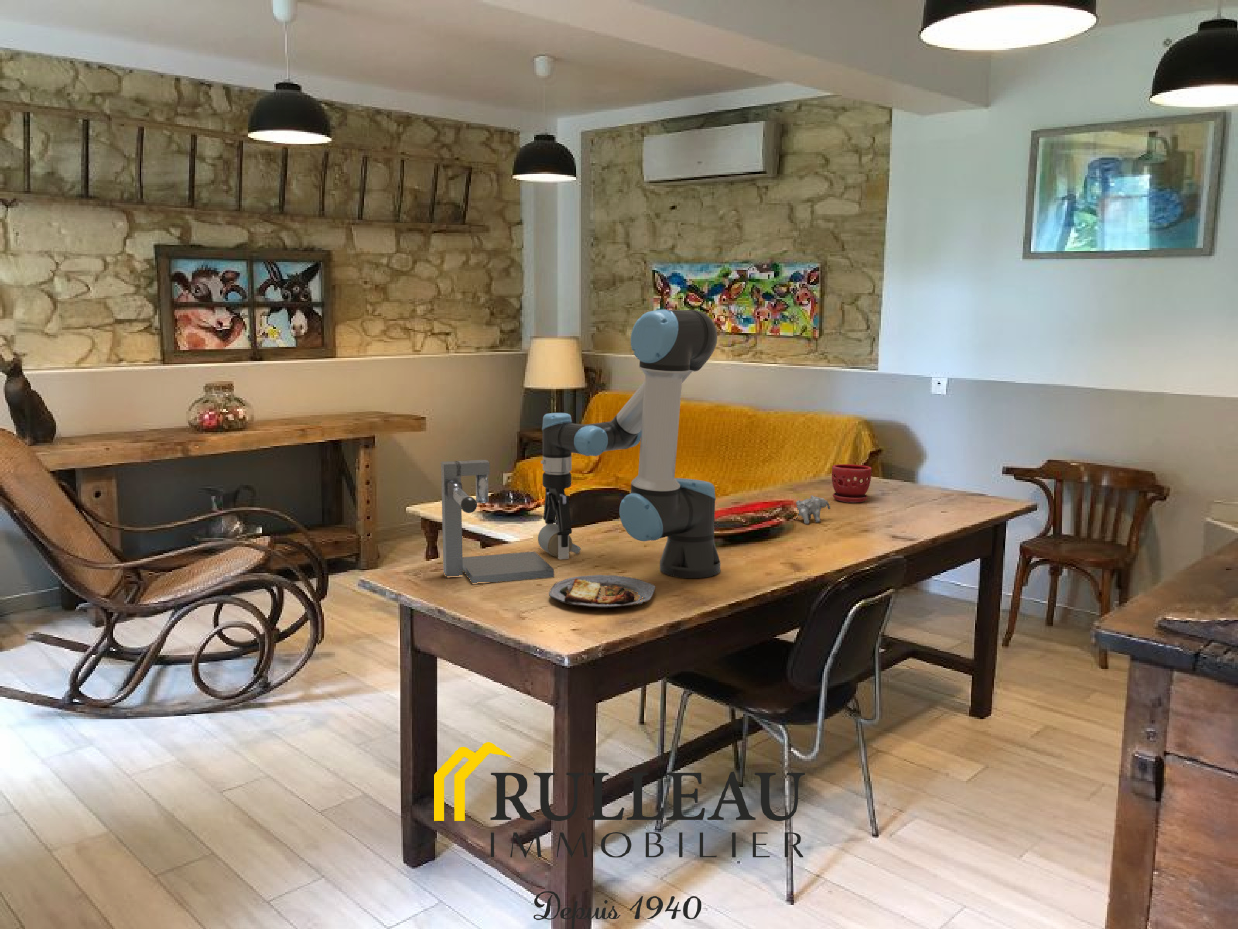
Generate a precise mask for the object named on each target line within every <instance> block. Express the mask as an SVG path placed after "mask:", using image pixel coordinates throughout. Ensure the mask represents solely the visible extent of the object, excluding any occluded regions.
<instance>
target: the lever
mask: <svg viewBox="0 0 1238 929" xmlns="http://www.w3.org/2000/svg"><path fill="white" fill-rule="evenodd" d="M447 496H448V499H449V500H451V499H455V500H456V501H457V502H458V504H459V505H460V506H461V509H462V511H463V513H466V514H472V513H474V512H475V511H476V510H477V508H478V503H477V502H476V498H474V497H472V496H470V495H468V494H467V493H466V492H465V491H464V489H463V484H462V481H461V482H452V483H447Z"/></svg>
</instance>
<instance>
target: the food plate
mask: <svg viewBox="0 0 1238 929" xmlns="http://www.w3.org/2000/svg"><path fill="white" fill-rule="evenodd" d="M604 586H607V587H605V589H604V591H605V595H603V594H602V593H601V592H602V591H601V589H602V588H601V587H604ZM656 588H657V587H656V586H655V585H654V584H653V583H650V582H647V581H643V580H641V579H639V578H636V577H629V576H624V575H616V574H615V575H614V574H613V575H611V574H610V575H609V574H607V575H604V574H594V575H581V576H580V575H579V576H574V577H568V578H565V579H562V580H561V581H556V582H555V583H554V584H553V585H552V587H551V589H550V590H549V592H548V596H549V597H550V598H551V599H553V600H556V601H558V602H559V603H562V604H566V605H570V606H581V607H582V606H583V607H589V608H590V607H593V608H598V609H601V608H603V609H604V608H605V609H610V608H616V607H617V608H618V607H630V606H638V605H642V604H643V602H645V603H648V602H649V601H650V600H651V599H652V598H653V595H654V592H655V589H656ZM628 589H631V590H628ZM632 590H633V591H632ZM599 592H600V593H599ZM620 592H621V593H620ZM622 592H623V593H622ZM633 592H634V593H635V592H638V594H637V596H638V595H640V596H639V598H638V599H637V600H635V594H634V593H633ZM619 593H620V594H619ZM599 596H601V598H600V597H599ZM642 597H643V599H642ZM640 599H641V601H640ZM608 607H609V608H608Z"/></svg>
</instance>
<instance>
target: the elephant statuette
mask: <svg viewBox="0 0 1238 929" xmlns="http://www.w3.org/2000/svg"><path fill="white" fill-rule="evenodd" d="M795 504H796V508H798V510H799V514H798V517H797V518H796V520H798V518H799V517H800V516H801V519H803V522H804V524H805V525H809V523H810V520H811V519H812V516H813V518H814V521H815V523H816V524H819V523H820V522H821V511H822V508H824V509H825V508H826V507H827V509H828V510H831V505H830V504H829V501H828V500H826V499H825V498H823V497H819V496H814V495H813V494H812V495H810V498H805V499H804V500H797V501H795Z"/></svg>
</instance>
